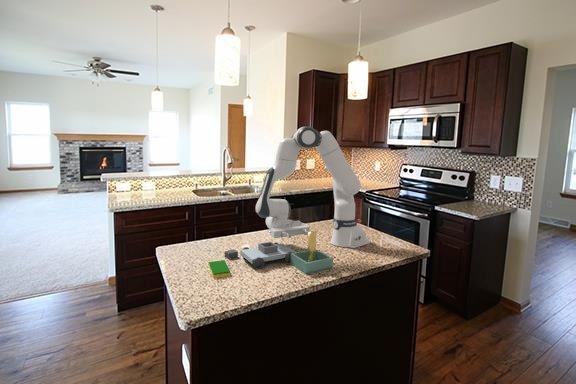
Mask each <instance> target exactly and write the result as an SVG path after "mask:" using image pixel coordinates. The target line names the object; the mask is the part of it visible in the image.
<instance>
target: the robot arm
mask: <svg viewBox="0 0 576 384" xmlns="http://www.w3.org/2000/svg"><path fill="white" fill-rule="evenodd" d="M313 148H315V150H316V151H317V152H318V154H319V156H320V158H321V160H322V162H323V164H324V166H325V167H326V169H327V171H328V172H329V174H330V175H331V177H332V189H333V199H334V200H333V201H334V215H333V222H332V223H333V224H332V225H333V229H332V230H333V231H332V236H331V239H330V244H332V246H336V247H342V248H350V249H351V248H352V249H356V248H359V247H362V246H365V245H369V244H371V240H370V239H368V238H367V233H366V231H365V230H364V229H363V228H362V227H360V226H359V223H361V222H362V220H361V219H360V218H356V202H355V197H354V196H355V195H356V194H357V193H359V192H360V190H361V187H362V183H361V180H360V179H359V177H358V176H357V174H356V172H354V170H353V168H352V166H351V165H350V163H349V162H348V160H347V158H346V157H345V155H344V153H343V151H342V149H341V147H340V145H339V143H338V142H337V140H336V138H335V136H334V135H333V133H331V131H329V130H322V131H318V130H317V129H316V128H315V129H314V128H313V127H312V126H302V127H301V126H300V128H298V129H297V130H296V131H295V132H294V134H292V136H291V137H285V138H282V139H280V141H279V143H278V146H277V150H276V155H275V160H274V163H273V164H272V166H271V167H270V168H269V169H268V170H267V172H266V174H265V177H264V181H263V184H262V187H261V189H260V193H259V196H258V199H257V201H256V204H255V209H254V210H255V213H256V214H257V215H258V216H259V217H260V218H262V219H263V218H265V225H266V226H267V228H268V230H267V232H268V233H269V234H270V236H271V237H272V238H274V239H278V238H279V239H280V238H287V239H289V238H291V237H292V236H302V235H304V236H308V231H311V227H310V225H309V224H307V223H305V222H301V221H300V220H297V219H289V218H290V215H291V208H292V207H291V205H290V202H289V201H288V200H286V199H285V198H284V199H282V198H270V197H271V192H272V190H273V187H274V184H275V183H276V182H277V181H279V180H280V179H281V180H282V179H284V178H287V177H289V176H291V175H292V174H293V173H294V172H295V170H296V166H297V162H298V155H299V152H300V151H301V150H302V149H313Z"/></svg>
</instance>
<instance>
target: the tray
mask: <svg viewBox="0 0 576 384" xmlns="http://www.w3.org/2000/svg"><path fill="white" fill-rule="evenodd" d="M295 252H296V251H295ZM307 256H308V249H307V250H303V251H297V252H296V253H291V263H290V265H292V266H293V267H294V268H296V269H297V270H298V271H300V272H301V273H303V274H304V275H306V276H307V275H311V274H316V273H319V272H325V271H328V270H329V271H330V270H333V263H334V260H333V259H334V258H333V257H332V256H330V255H328V254H326V253H324V252H322V251H320V250H318V249H317V248H316V258H315V261H312V262H307Z"/></svg>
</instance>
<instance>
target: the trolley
mask: <svg viewBox="0 0 576 384" xmlns="http://www.w3.org/2000/svg"><path fill="white" fill-rule="evenodd" d="M239 251H240V252H239V253H240V255H241V257H242V258H244V259H246V260H247V261H248V262H249V263H250V264H252V266H253V267H254V269H256V270H260V269H262V268H264V266H265V262H269V261H270V262H271V261H275V260H276V261H277V260H279V259H280V260H281V259H284V258H285V262H287V263H289V264H291V253H296V251H295V250H294V249H292V248H290V247H289V246H287V245H285V244H284V243H282V242H281V243H278V242H272V241H268V242H260V243H258V245H257V247H250V248H249V247H248V246H247V247H246V246H245V247H243V248H241V249H240V250H239Z"/></svg>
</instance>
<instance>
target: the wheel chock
mask: <svg viewBox="0 0 576 384" xmlns="http://www.w3.org/2000/svg"><path fill="white" fill-rule="evenodd" d="M238 257H239V251H238V250H236V249H230V250H224V258H226V259H227V260H232V259H235V258H238Z"/></svg>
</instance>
